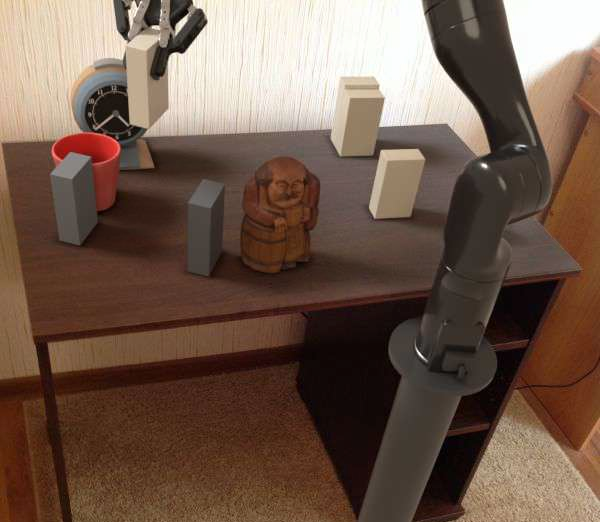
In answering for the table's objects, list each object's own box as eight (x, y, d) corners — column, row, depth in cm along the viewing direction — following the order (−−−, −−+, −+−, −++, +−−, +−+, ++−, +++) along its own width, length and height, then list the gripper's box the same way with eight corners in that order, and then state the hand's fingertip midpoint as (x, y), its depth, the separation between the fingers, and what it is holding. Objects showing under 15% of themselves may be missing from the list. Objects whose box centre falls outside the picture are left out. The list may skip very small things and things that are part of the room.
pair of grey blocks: (208, 276, 119) (211, 208, 110) (59, 240, 121) (49, 170, 111) (221, 251, 123) (225, 184, 114) (78, 217, 125) (69, 148, 116)
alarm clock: (80, 172, 134) (69, 74, 122) (73, 144, 141) (62, 48, 128) (160, 167, 139) (157, 72, 126) (150, 140, 145) (147, 47, 132)
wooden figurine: (253, 279, 120) (261, 178, 106) (235, 256, 123) (242, 156, 110) (316, 263, 124) (332, 165, 111) (298, 242, 128) (311, 144, 115)
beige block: (149, 129, 107) (146, 50, 99) (129, 124, 107) (125, 45, 99) (168, 108, 111) (167, 31, 103) (149, 103, 112) (147, 27, 104)
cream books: (410, 217, 137) (427, 152, 128) (374, 219, 135) (389, 154, 126) (362, 137, 155) (374, 76, 146) (330, 138, 153) (339, 76, 144)
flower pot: (52, 187, 130) (45, 134, 123) (115, 179, 134) (112, 128, 127) (65, 221, 124) (58, 168, 117) (131, 212, 128) (128, 160, 121)
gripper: (117, -78, 99) (83, 50, 100) (218, -56, 98) (182, 75, 98) (136, -45, 107) (104, 74, 107) (230, -24, 105) (196, 97, 106)
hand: (141, 74), depth 103 cm, fingers closed on beige block, 3 cm apart
